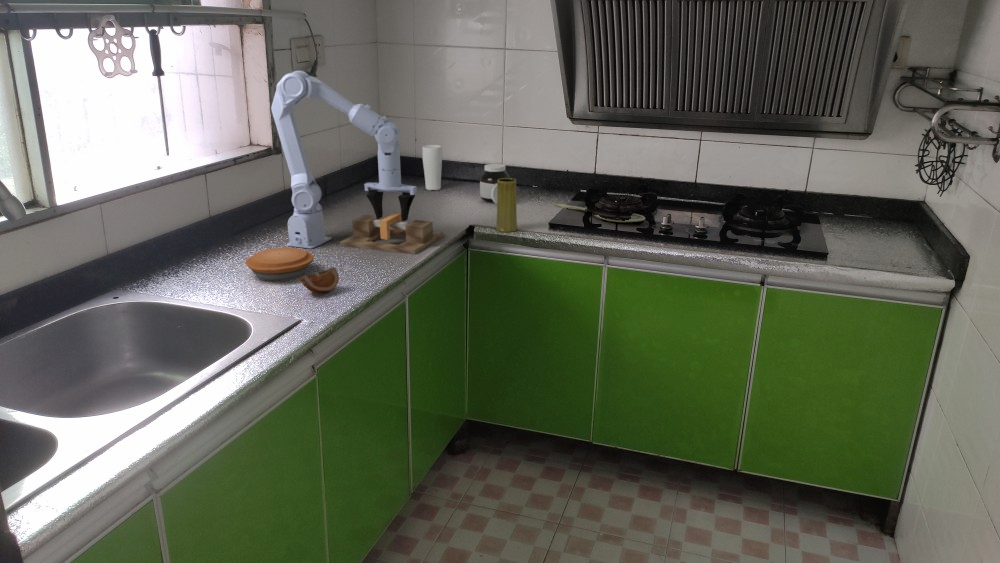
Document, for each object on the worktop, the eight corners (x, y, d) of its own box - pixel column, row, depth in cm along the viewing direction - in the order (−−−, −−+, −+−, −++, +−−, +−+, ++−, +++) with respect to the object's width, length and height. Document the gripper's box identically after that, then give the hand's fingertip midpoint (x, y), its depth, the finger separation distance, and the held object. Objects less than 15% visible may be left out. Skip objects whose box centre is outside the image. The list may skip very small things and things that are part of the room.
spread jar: (494, 196, 249) (494, 162, 245) (522, 201, 243) (522, 165, 239) (472, 203, 240) (472, 167, 236) (501, 208, 234) (501, 171, 230)
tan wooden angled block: (387, 239, 195) (386, 221, 193) (380, 238, 195) (379, 220, 194) (403, 230, 203) (402, 213, 201) (396, 230, 203) (395, 212, 202)
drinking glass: (421, 191, 257) (419, 147, 252) (426, 186, 263) (424, 144, 258) (440, 191, 256) (439, 148, 251) (444, 187, 262) (443, 145, 257)
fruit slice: (311, 301, 157) (309, 279, 156) (295, 293, 162) (293, 272, 160) (345, 291, 163) (343, 270, 161) (328, 284, 167) (326, 263, 166)
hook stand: (444, 235, 204) (443, 216, 202) (414, 254, 188) (413, 233, 186) (374, 228, 211) (372, 209, 210) (340, 245, 196) (338, 225, 194)
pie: (282, 259, 185) (280, 240, 183) (328, 269, 177) (327, 249, 176) (232, 277, 172) (230, 257, 171) (280, 289, 165) (278, 267, 163)
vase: (521, 229, 210) (522, 179, 205) (507, 233, 206) (507, 183, 201) (506, 225, 214) (506, 176, 209) (491, 229, 210) (491, 180, 205)
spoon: (544, 213, 235) (544, 206, 235) (568, 207, 242) (568, 201, 241) (630, 228, 209) (630, 221, 209) (654, 222, 216) (654, 215, 215)
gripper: (421, 167, 194) (423, 217, 199) (372, 164, 199) (375, 213, 204) (408, 172, 188) (411, 224, 193) (359, 168, 193) (362, 219, 198)
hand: (392, 219), depth 198 cm, fingers open, 7 cm apart
